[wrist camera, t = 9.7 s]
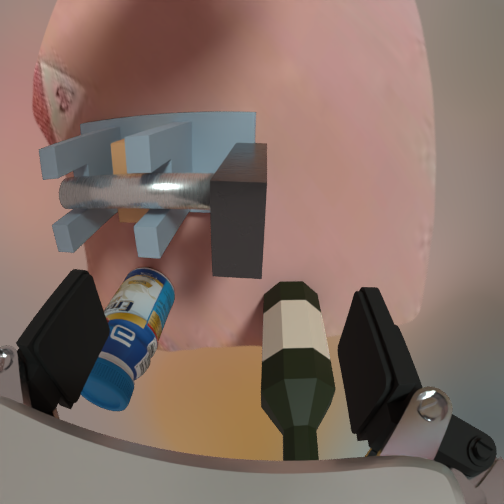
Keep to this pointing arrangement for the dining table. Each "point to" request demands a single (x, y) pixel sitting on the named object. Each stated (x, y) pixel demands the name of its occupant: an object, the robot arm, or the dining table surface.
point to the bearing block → (143, 166)
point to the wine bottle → (295, 367)
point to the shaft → (195, 203)
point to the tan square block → (121, 168)
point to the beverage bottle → (129, 337)
